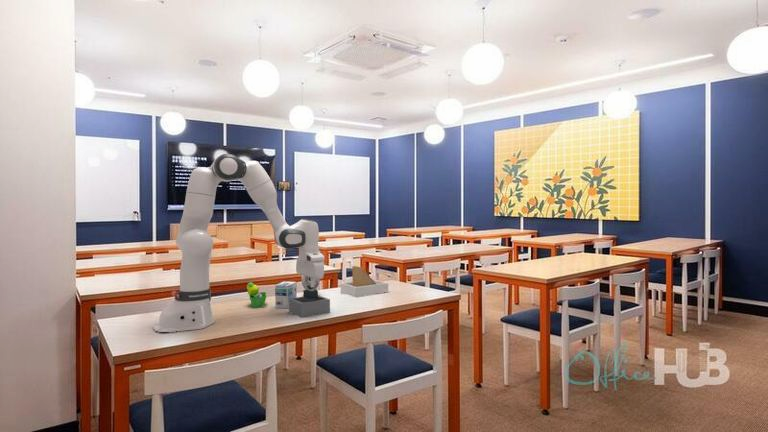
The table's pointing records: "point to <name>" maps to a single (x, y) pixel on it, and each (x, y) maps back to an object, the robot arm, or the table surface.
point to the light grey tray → (364, 288)
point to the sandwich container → (361, 277)
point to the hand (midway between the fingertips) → (309, 286)
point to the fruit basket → (256, 295)
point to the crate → (309, 306)
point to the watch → (310, 292)
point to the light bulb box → (285, 293)
